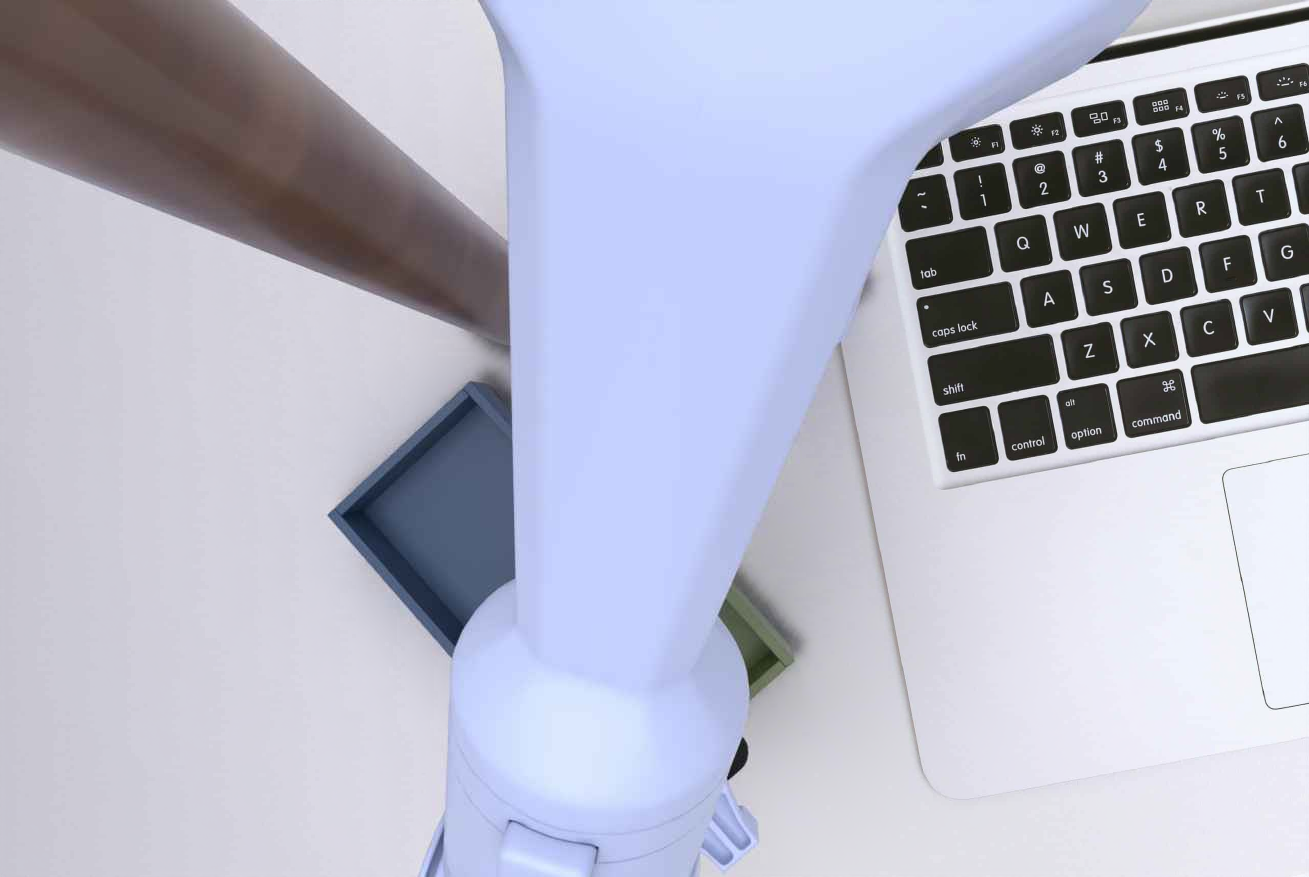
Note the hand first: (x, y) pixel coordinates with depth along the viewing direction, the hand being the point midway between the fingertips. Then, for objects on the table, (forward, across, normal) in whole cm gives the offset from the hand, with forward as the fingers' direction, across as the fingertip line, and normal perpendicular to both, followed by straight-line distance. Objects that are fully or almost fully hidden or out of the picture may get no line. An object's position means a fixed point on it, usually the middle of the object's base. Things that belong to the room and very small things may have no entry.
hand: (644, 662), depth 44 cm
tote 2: (+6, 0, 0) cm, 6 cm away
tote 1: (+6, -12, -3) cm, 14 cm away
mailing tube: (+6, -20, +7) cm, 22 cm away
